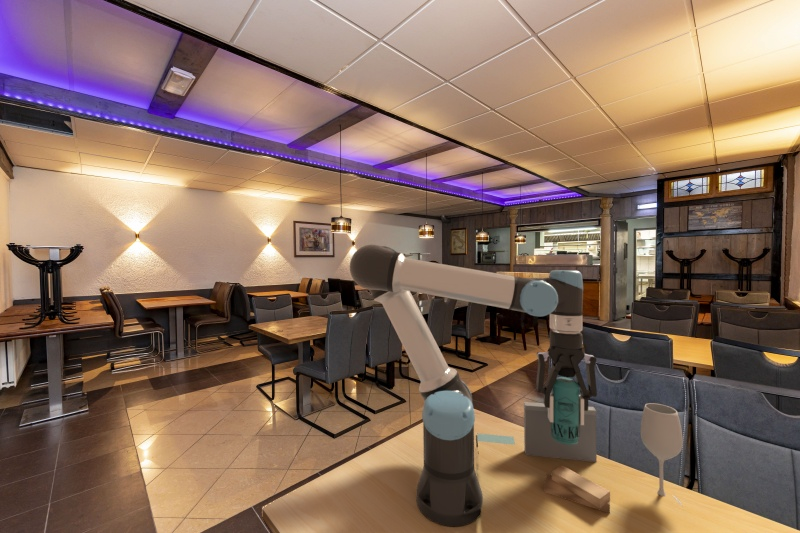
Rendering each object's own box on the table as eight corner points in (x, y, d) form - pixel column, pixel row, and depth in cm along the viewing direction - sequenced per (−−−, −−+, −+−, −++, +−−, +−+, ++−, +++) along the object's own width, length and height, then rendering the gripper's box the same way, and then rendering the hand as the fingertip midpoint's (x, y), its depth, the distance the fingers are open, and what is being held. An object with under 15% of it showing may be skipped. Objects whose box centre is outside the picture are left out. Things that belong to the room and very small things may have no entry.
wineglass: (691, 513, 71) (690, 417, 71) (651, 509, 73) (651, 414, 73) (670, 490, 79) (669, 403, 79) (634, 486, 80) (634, 400, 80)
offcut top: (551, 479, 78) (551, 471, 78) (562, 473, 80) (561, 465, 80) (600, 508, 69) (599, 498, 69) (610, 500, 71) (610, 491, 71)
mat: (478, 454, 95) (478, 452, 95) (477, 434, 105) (477, 433, 105) (518, 458, 92) (518, 456, 92) (513, 438, 103) (513, 436, 103)
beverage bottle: (547, 436, 87) (547, 361, 87) (574, 438, 86) (574, 362, 86) (555, 450, 81) (555, 369, 81) (584, 452, 80) (584, 370, 80)
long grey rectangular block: (525, 459, 92) (525, 405, 92) (524, 454, 94) (523, 401, 94) (596, 467, 88) (596, 410, 88) (593, 461, 90) (593, 406, 90)
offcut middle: (544, 492, 77) (543, 483, 77) (546, 481, 81) (546, 473, 81) (609, 513, 70) (609, 504, 70) (609, 501, 74) (609, 492, 74)
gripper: (528, 332, 82) (527, 424, 82) (614, 335, 78) (614, 432, 78) (523, 326, 89) (523, 411, 89) (602, 329, 85) (601, 418, 85)
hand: (565, 421), depth 84 cm, fingers closed on beverage bottle, 6 cm apart
